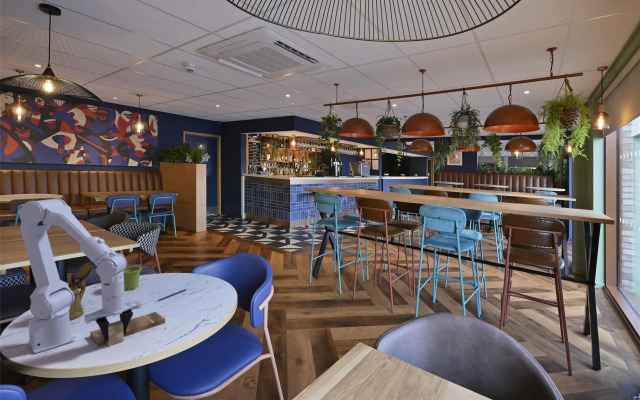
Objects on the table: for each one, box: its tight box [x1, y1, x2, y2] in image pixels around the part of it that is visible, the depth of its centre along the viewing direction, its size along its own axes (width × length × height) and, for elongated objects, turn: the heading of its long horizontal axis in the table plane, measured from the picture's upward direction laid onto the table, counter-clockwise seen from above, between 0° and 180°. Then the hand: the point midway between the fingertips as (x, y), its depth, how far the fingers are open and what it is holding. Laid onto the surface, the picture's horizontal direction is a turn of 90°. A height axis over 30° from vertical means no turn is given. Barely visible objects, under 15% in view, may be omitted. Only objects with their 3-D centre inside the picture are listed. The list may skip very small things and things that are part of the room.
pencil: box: [155, 288, 187, 303], centre depth 135 cm, size 1×1×15 cm
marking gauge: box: [105, 320, 125, 347], centre depth 100 cm, size 4×8×6 cm, turn 50°
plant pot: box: [121, 265, 143, 291], centre depth 142 cm, size 9×9×9 cm
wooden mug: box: [68, 260, 93, 321], centre depth 116 cm, size 9×14×18 cm, turn 161°
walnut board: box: [89, 311, 166, 346], centre depth 106 cm, size 20×8×2 cm, turn 140°
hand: (114, 337), depth 98 cm, fingers closed on marking gauge, 4 cm apart
